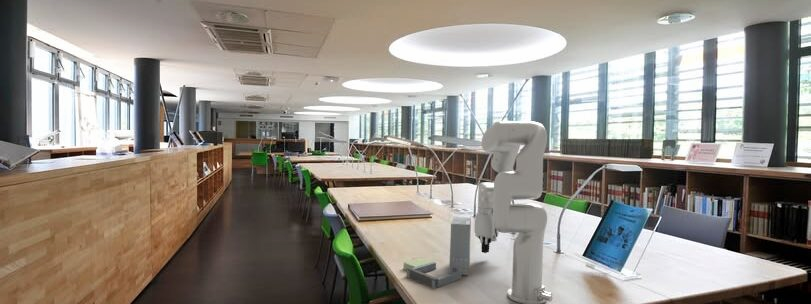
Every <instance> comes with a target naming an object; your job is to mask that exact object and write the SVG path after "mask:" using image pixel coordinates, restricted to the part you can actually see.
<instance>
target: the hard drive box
mask: <svg viewBox="0 0 811 304" xmlns="http://www.w3.org/2000/svg"><path fill="white" fill-rule="evenodd" d="M471 229H472V217H466V216H453V218H452V220H451V223H450V237H449V239H450V242H449V264H448V265H449V268H448V270H449V271H448V274H451V273H454V272H457V271H460V272H462V276H469V272H470V264H471V237H472V236H471V235H472V234H471V232H472V230H471Z"/></svg>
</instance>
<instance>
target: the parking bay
mask: <svg viewBox="0 0 811 304" xmlns="http://www.w3.org/2000/svg"><path fill="white" fill-rule="evenodd" d="M436 264H437V262H435V261H433V262H431V263H428V264H424V265H421V266H418V267H414V268H407V270H406V277H407V278H411V279H412V280H415V281H418V282H420V283H422V284H424V285H426V286H428V287H431V288H434V289H437V288H440V287H443V286H444V285H448V284H451V283H452V282H453V283H454V282H455V281H458V280H462V276H463V275H462V272H460V271H457V272H454V273H451V274H449V273H448V274H446V275H442V276H440V277H435V276H432V275H429V274H427V272H431V271H434V270H436V269H437V265H436Z"/></svg>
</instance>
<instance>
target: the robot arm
mask: <svg viewBox="0 0 811 304" xmlns="http://www.w3.org/2000/svg"><path fill="white" fill-rule="evenodd" d="M547 133H548V132H547V130H546V127H545V126H544V125H543V124H542V123H540V122H537V121H526V120H522V121H521V120H519V121H518V120H498V121H496V122H494V123H493V124H492V125H490V126H489V127H488V128H487V129H486V130H485V132H484V133H483V136H482V138H481V147H482V150H483V152H486V153H493V156H492V159H491V164H490V165H491V168H492V169H493V170H494V171H495V172H497V174H496V176H495V178H494V181H493V182H489V181H486V182H483V181H481V182H480V183H479V184H478V189H477V191H478V195H477V198H478V199H477V212H476V215H475V218H474V227H473V228H474V236H475V237H476V238H478V239H479V241H480V243H481V246H480V247H481V249H480V250H481V253H483V254H486V253H487V254H488V253H489V252H490V244H491V243H493V242H497V238H498V237H499V235H500V233H503V234H517V235H516V237H515V239H514V241H513V247H512V248H513V249H512V276H511V277H512V278H511V279H512V284H511V287H510V288H508V289H507V291H506V295H507V297H508V298H509V299H510V300H512V301H514V302H517V303H519V304H544V303H545V302H550V303H551V302H552V301H553V293H552V292H549V291H546V289H545V288H546V286H545V285H543V265H544V264H543V262H544V261H543V259H544V256H543V255H544V239H545V238H544V237H545V233H546V228H547V224H548V213H547V210H545V208H544V207H543V206H541V205H540V204H537V203H512V201H524V200H525V201H527V200H528V201H531V200H537V199H539V198H540V197H541V196H542V195H543V194H542V193H543V188H544V187H543V186H544V185H543V184H544V183H543V179H544V176H543V175H544V172H543V171H544V155H545V152H546V149H547V143H548V134H547ZM521 146H522V148H521V150H520V151H519V149H520V147H521ZM515 163H516V164H515ZM515 165H516V168H515V170H514V166H515Z"/></svg>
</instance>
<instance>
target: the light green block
mask: <svg viewBox="0 0 811 304" xmlns="http://www.w3.org/2000/svg"><path fill="white" fill-rule="evenodd" d="M431 262H434V261H432V260H430V259H427V258H425V257H419V258H415V259H411V260H407V261H404V262H403V270H406V271H407V268H414V267H418V266H421V265H424V264H428V263H431Z"/></svg>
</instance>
